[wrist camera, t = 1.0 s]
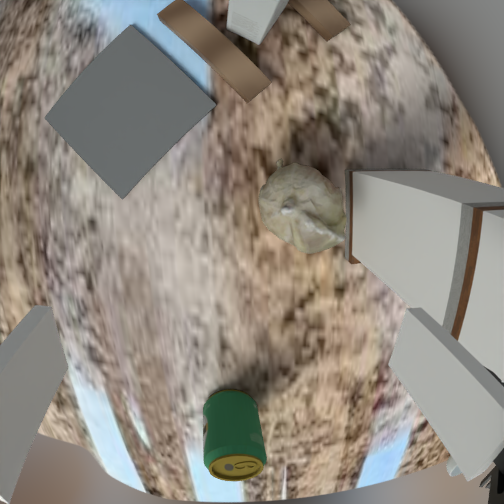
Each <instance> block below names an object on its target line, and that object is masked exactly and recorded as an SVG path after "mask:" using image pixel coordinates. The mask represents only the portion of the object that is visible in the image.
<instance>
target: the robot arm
mask: <svg viewBox="0 0 504 504" xmlns="http://www.w3.org/2000/svg"><path fill="white" fill-rule="evenodd" d="M388 365H389V366H390V368H391V369H392V370H393V372H394V373H395V375H396V376H397V377H398V379H399V380H400V382H401V383H402V384H403V386H404V387H405V389H406V390H407V392H408V393H409V394H410V396H411V397H412V399H413V400H414V402H415V403H416V404H417V406H418V407H419V409H420V410H421V412H422V413H423V415H424V416H425V417H426V419H427V420H428V422H429V423H430V425H431V426H432V428H433V429H434V431H435V432H436V434H437V435H438V437H439V438H440V440H441V441H442V443H443V444H444V446H445V447H446V449H447V450H448V452H449V453H450V455H451V456H452V458H453V459H454V461H455V462H456V464H457V465H458V467H459V469H460V470H461V472H462V473H463V474H464V476H465V478H466V480H467V481H469V480H471V479H473V478H475V477H476V476H478V475H480V474H481V473H483V472H484V471H485V470H486V469H487V468H488V467H489V465H490V464H491V463H492V462H494V463H495V464H496V466H495V467H494V468H493V469H492V471H491V472H490V473H489V474H488V475H487V476H486V477H485V478H484V479H483V480H482V482H481V484H480V486H479V487H483V486H484V485H485V483H487V481H488V480H489V479H491V481H490V482H489V483H488V484H487V486H486V488H490V492H489V500H488V504H504V382H503V383H502V380H501V379H500V378H499V377H498V376H497V375H496V374H495V373H494V372H493V371H491V370H489V369H488V368H486V367H484V366H483V365H482V364H481V363H480V362H479V361H478V360H477V359H476V358H475V357H474V356H473V355H472V354H470V353H469V352H468V351H467V350H466V349H465V348H464V347H463V346H462V345H461V344H460V343H459V342H458V341H457V340H456V339H455V338H454V337H453V336H452V335H451V334H450V333H448V332H447V331H446V330H445V329H444V328H443V327H442V326H441V325H440V324H439V323H438V322H437V321H436V320H434V319H433V318H432V317H431V316H430V315H429V314H428V313H427V312H426V311H425V310H423V309H422V308H421V307H419V308H408V309H406V312H405V315H404V319H403V322H402V325H401V328H400V332H399V335H398V338H397V341H396V344H395V347H394V350H393V353H392V356H391V359H390V361H389V364H388ZM67 369H68V364H67V361H66V358H65V354H64V351H63V348H62V344H61V341H60V337H59V334H58V330H57V326H56V322H55V318H54V314H53V310H52V307H48V306H38V305H35V306H34V307H33V308H32V309H31V311H30V312H29V313H28V314H27V315H26V316H25V317H24V318H23V319H22V321H21V322H20V323H19V324H18V325H17V326H16V328H15V329H14V330H13V331H12V332H11V333H10V335H9V336H8V337H7V338H6V339H5V340H4V342H3V343H2V344H1V345H0V500H1V501H4V502H6V503H8V504H9V503H10V500H11V497H12V494H13V491H14V489H15V486H16V483H17V480H18V478H19V475H20V472H21V470H22V467H23V465H24V462H25V460H26V457H27V455H28V452H29V450H30V447H31V445H32V443H33V440H34V438H35V436H36V433H37V431H38V429H39V427H40V424H41V422H42V420H43V418H44V416H45V414H46V411H47V409H48V407H49V405H50V403H51V401H52V399H53V397H54V395H55V393H56V391H57V389H58V387H59V385H60V383H61V381H62V379H63V377H64V375H65V373H66V371H67Z"/></svg>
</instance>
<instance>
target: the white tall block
mask: <svg viewBox="0 0 504 504" xmlns="http://www.w3.org/2000/svg"><path fill="white" fill-rule="evenodd" d="M345 183H346V216H347V221H346V240H345V258H346V259H347V260H348V261H349V262H350V263H351V264H357V263H362V264H363V265H364V266H365V267H367V268H368V269H369V270H370V271H371V272H372V273H373V274H375V275H376V276H377V277H378V278H379V279H380V280H381V281H382V282H383V283H385V284H386V285H387V286H388V287H389V288H390V289H391V290H392V291H393V292H395V293H396V294H397V295H398V296H399V297H400V298H401V299H402V300H403V301H404V302H405V303H406V304H408V305H409V306H410V307H411V308H419V307H421V308H422V309H423V310H425V311H426V312H427V313H428V314H429V315H430V316H431V317H432V318H433V319H434V320H436V321H437V322H438V323H439V324H440V325H441V326H442V327H443V328H444V329H445V330H446V331H447V332H448V333H450V334H451V335H452V336H453V337H454V338H455V339H456V340H457V341H458V342H459V343H460V344H461V345H462V346H463V347H464V348H465V349H466V350H467V351H468V352H469V353H470V354H472V355H473V356H474V357H475V358H476V359H477V360H478V361H479V362H480V363H481V364H482V365H483V366H484V367H486V368H488V369H489V370H491V371H493V372H494V373H495V374H496V375H497V376H498V377H499V378H500V379H501V380H502V383H503V382H504V188H500V187H497V186H493V185H489V184H486V183H482V182H478V181H474V180H470V179H466V178H462V177H457V176H453V175H448V174H444V173H439V172H435V171H430V170H425V169H359V170H345Z"/></svg>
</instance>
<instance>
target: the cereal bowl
mask: <svg viewBox="0 0 504 504" xmlns="http://www.w3.org/2000/svg"><path fill="white" fill-rule="evenodd" d="M446 466H447V471H448V473H449V475H450V476H456V475H459V474H460V473H462V472H461V470H460V469H459V467H458V465H457V464H456V462H455V461H454V459H453V458H452V456H451V455H450V457H449V459H448V461H447V465H446Z"/></svg>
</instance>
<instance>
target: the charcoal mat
mask: <svg viewBox="0 0 504 504" xmlns="http://www.w3.org/2000/svg"><path fill="white" fill-rule="evenodd" d="M215 106H216V104H215V103H214V102H213V101H212V100H211V99H210V98H209V97H208V96H207V95H206V94H205V93H204V92H203V91H202V90H201V89H200V88H199V87H198V86H197V85H196V84H195V83H194V82H193V81H192V80H191V79H190V78H189V77H188V76H187V75H186V74H185V73H184V72H183V71H182V70H180V69H179V68H178V67H177V66H176V65H175V64H174V63H173V62H172V61H171V60H170V59H169V58H168V57H167V56H165V55H164V54H163V53H162V52H161V51H160V50H159V49H158V48H157V47H156V46H154V45H153V44H152V43H151V42H150V41H149V40H148V39H147V38H145V37H144V36H143V35H142V34H141V33H140V32H139V31H137V30H136V29H135V28H134V27H133V26H132V25H130V26H128V27H127V28H126V29H125V30H124V31H123V32H122V33H121V34H120V35H119V36H117V37H116V38H115V39H114V40H113V41H112V42H111V43H110V44H109V45H108V46H107V47H106V48H105V49H104V50H103V51H102V52H101V53H100V54H99V55H98V56H97V57H96V58H95V59H94V60H93V61H92V62H91V63H90V64H89V65H88V66H87V67H86V69H85V70H84V71H83V72H82V73H81V74H80V75H79V76H78V77H77V79H76V80H75V81H74V82H73V83H72V84H71V85H70V87H69V88H68V89H67V90H66V91H65V93H64V94H63V95H62V96H61V97H60V99H59V100H58V101H57V102H56V104H55V105H54V106H53V107H52V109H51V110H50V111H49V113H48V114H47V115H46V117H45V119H46V120H47V121H48V122H49V124H50V125H51V126H52V127H53V128H54V129H55V130H56V131H57V132H58V133H59V134H60V136H61V137H62V138H63V139H64V140H65V141H66V142H67V143H68V144H69V145H70V146H71V147H72V148H73V149H74V150H75V152H76V153H77V154H78V155H79V156H80V157H81V158H82V159H83V160H84V161H85V162H86V163H87V164H88V165H89V166H90V167H91V168H92V169H93V170H94V171H95V172H96V173H97V174H98V175H99V176H100V177H101V179H102V180H103V181H104V182H105V183H106V184H107V185H108V186H109V187H110V188H111V189H112V190H113V191H114V192H115V193H116V194H117V195H118V196H119V197H120V198H121V199H124V197H125V196H126V195H127V194H128V193H129V192H130V191H131V190H132V189H133V187H134V186H135V185H136V184H137V183H138V182H139V181H140V180H141V179H142V178H143V177H144V175H145V174H146V173H147V172H148V171H149V170H150V169H151V168H152V167H153V166H154V165H155V164H156V163H157V162H158V161H159V160H160V159H161V158H162V157H163V156H164V155H165V154H166V153H167V152H168V151H169V150H170V149H171V148H172V147H173V146H174V145H175V144H176V143H177V142H178V141H179V140H180V139H181V138H182V137H183V136H184V135H185V134H186V133H187V132H188V131H189V130H190V129H191V128H192V127H193V126H194V125H196V124H197V123H198V122H199V121H200V120H201V119H202V118H203V117H204V116H205V115H206V114H207V113H209V112H210V111H211V110H212V109H213V108H214V107H215Z"/></svg>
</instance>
